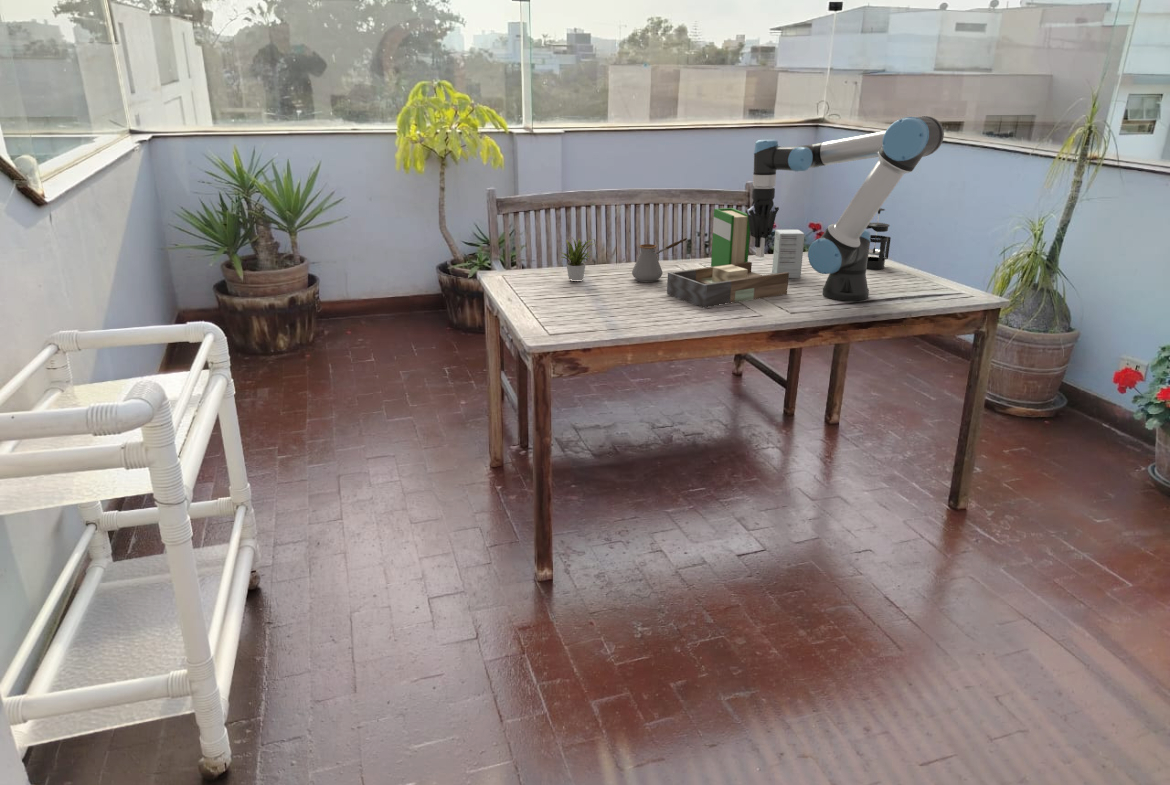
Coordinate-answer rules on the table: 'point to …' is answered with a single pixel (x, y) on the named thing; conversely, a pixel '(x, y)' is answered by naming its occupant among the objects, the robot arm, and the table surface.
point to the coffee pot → (649, 263)
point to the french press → (879, 262)
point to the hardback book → (730, 237)
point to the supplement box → (788, 252)
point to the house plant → (576, 260)
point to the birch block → (728, 273)
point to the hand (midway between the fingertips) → (759, 256)
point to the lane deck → (724, 286)
